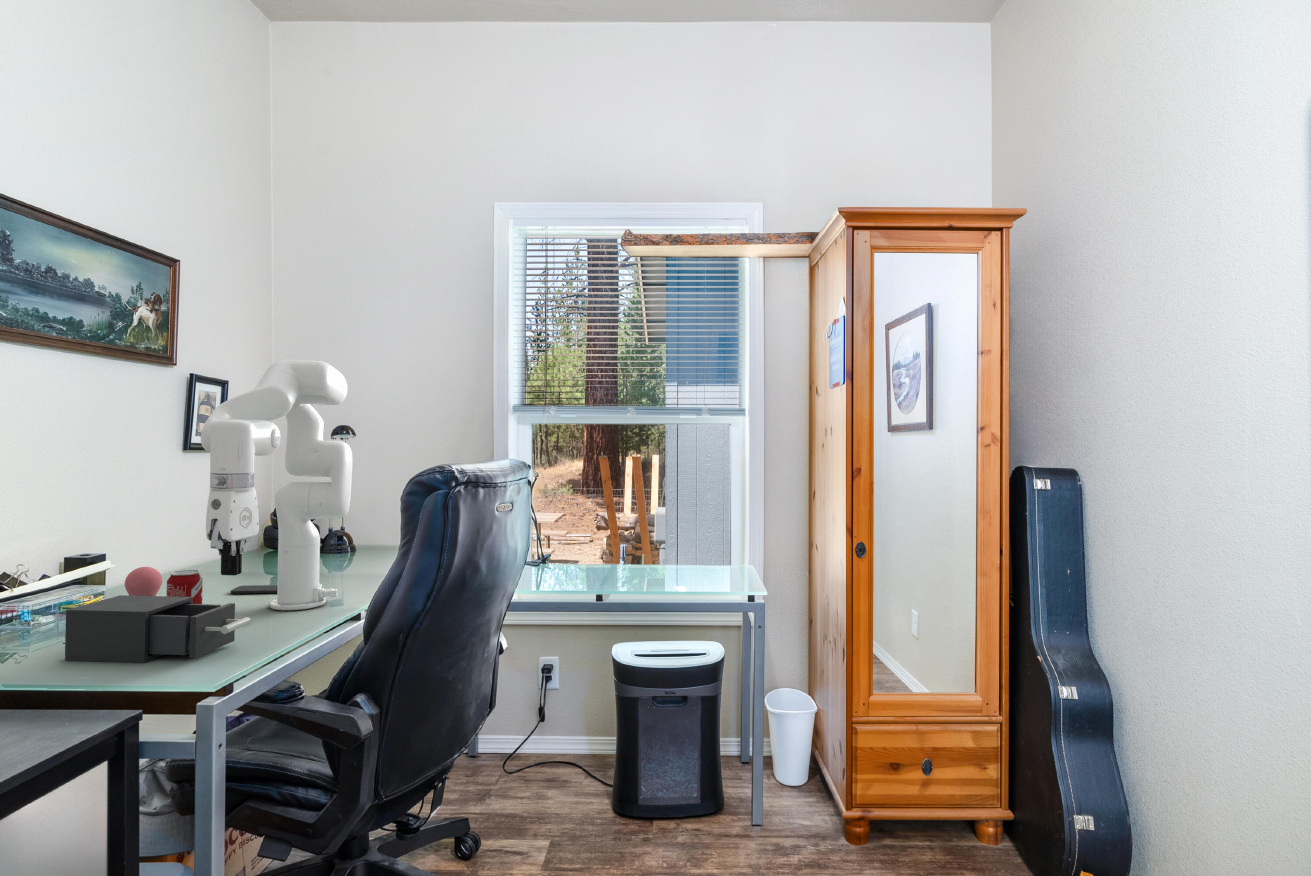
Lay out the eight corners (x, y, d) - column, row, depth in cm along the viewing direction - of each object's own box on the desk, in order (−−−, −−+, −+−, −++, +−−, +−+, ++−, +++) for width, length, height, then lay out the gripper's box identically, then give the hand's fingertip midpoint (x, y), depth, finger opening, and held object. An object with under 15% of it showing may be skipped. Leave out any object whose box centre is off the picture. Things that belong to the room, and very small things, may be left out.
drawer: (257, 641, 141) (257, 603, 141) (219, 658, 129) (220, 617, 130) (166, 639, 142) (166, 601, 142) (121, 656, 130) (121, 615, 130)
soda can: (183, 629, 152) (184, 575, 152) (158, 627, 153) (159, 573, 153) (209, 621, 159) (210, 569, 159) (184, 619, 160) (185, 568, 160)
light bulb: (116, 619, 159) (117, 568, 159) (149, 612, 166) (150, 563, 166) (136, 623, 157) (137, 570, 157) (168, 616, 163) (169, 565, 163)
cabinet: (192, 643, 142) (192, 596, 142) (144, 662, 129) (145, 611, 129) (119, 641, 143) (120, 595, 143) (64, 660, 130) (65, 609, 130)
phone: (288, 590, 189) (229, 591, 186) (288, 593, 189) (228, 594, 186) (297, 584, 196) (240, 585, 193) (297, 587, 196) (240, 588, 193)
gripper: (225, 485, 128) (224, 583, 129) (273, 480, 143) (272, 567, 144) (186, 484, 129) (185, 582, 129) (238, 479, 144) (237, 566, 144)
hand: (231, 574), depth 136 cm, fingers closed
